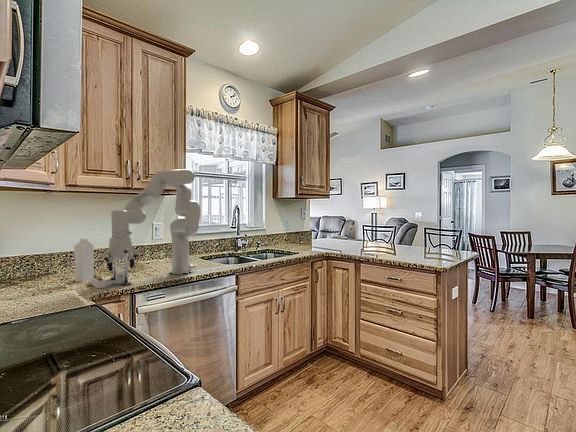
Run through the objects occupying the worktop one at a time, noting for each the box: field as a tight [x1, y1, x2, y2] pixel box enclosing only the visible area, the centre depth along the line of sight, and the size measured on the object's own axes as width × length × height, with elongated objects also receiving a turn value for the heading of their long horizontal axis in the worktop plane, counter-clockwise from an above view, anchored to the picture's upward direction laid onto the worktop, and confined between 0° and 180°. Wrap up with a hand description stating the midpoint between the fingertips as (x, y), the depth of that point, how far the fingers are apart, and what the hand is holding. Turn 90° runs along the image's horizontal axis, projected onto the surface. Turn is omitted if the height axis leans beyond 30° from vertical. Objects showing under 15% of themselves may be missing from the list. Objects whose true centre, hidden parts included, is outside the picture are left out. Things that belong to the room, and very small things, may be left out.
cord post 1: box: [110, 258, 118, 280], centre depth 167 cm, size 4×4×17 cm
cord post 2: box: [121, 249, 132, 287], centre depth 155 cm, size 4×4×17 cm
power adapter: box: [115, 269, 125, 284], centre depth 161 cm, size 11×5×6 cm, turn 24°
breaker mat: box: [87, 274, 134, 291], centre depth 158 cm, size 15×21×5 cm
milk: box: [73, 238, 95, 283], centre depth 165 cm, size 6×6×22 cm
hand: (121, 269), depth 162 cm, fingers open, 9 cm apart
